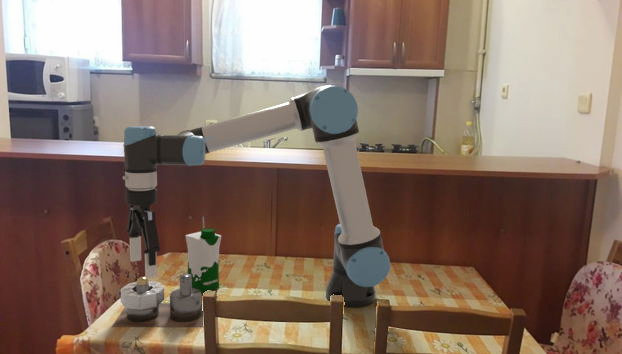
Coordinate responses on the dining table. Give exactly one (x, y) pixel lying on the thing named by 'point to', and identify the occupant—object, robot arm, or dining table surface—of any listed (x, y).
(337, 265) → the robot arm
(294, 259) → the dining table surface
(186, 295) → the stand post
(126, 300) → the steel ring
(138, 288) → the hub post
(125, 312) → the board
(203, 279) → the milk carton
